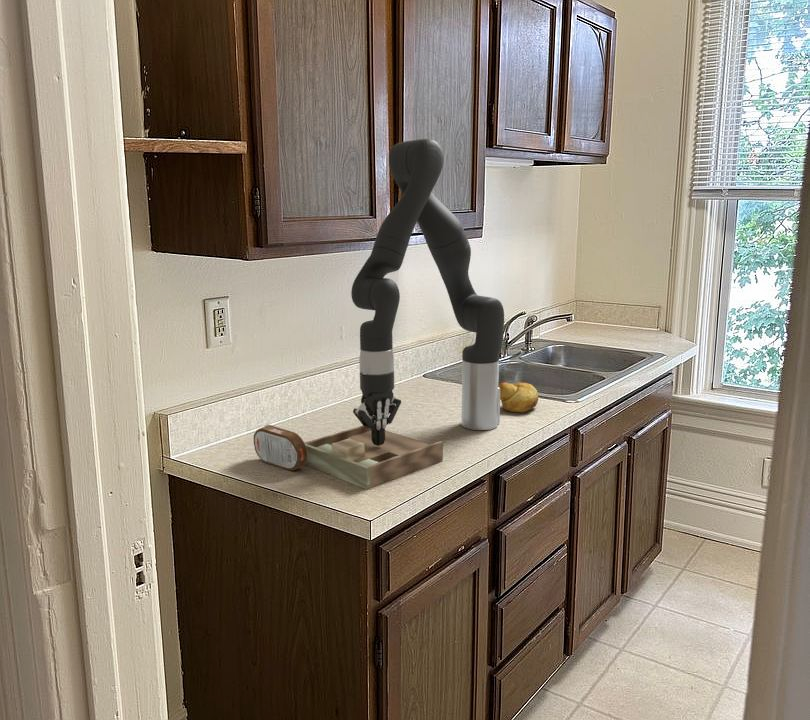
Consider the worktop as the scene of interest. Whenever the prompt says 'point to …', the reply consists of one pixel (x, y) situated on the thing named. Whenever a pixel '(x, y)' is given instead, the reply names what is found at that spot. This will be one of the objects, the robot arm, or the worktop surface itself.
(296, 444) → the tin
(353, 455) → the maple block
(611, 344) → the worktop surface
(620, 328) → the worktop surface
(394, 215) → the robot arm
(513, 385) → the bread roll
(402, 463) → the trap box
